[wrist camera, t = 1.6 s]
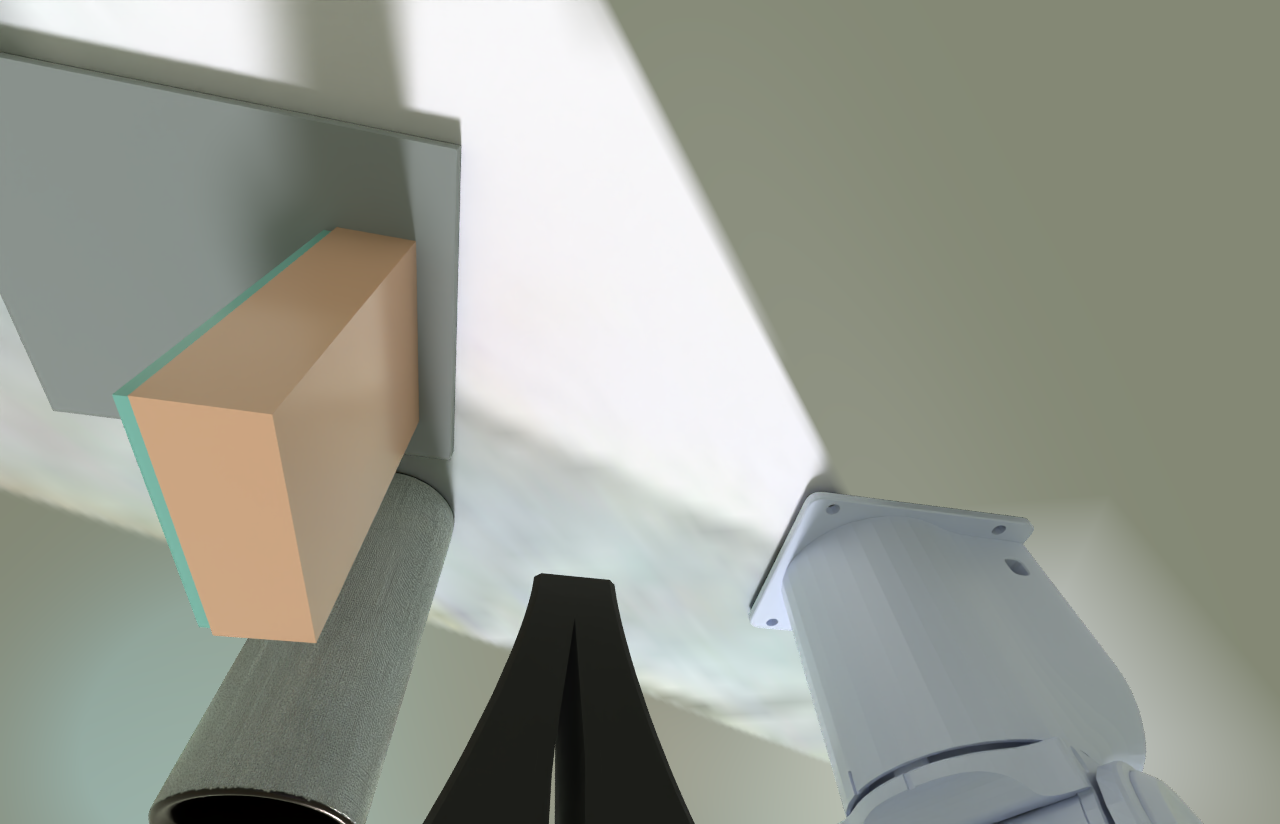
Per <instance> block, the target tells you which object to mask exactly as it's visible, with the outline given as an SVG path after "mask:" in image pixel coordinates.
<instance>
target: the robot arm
mask: <svg viewBox="0 0 1280 824" xmlns="http://www.w3.org/2000/svg"><path fill="white" fill-rule="evenodd" d="M834 504H835V505H834ZM830 505H834V506H831V507H828V506H830ZM1033 530H1034V527H1033V525H1032V524H1031V523H1030V522H1029V520H1028V519H1026V518H1023V517H1015V516H1008V515H1000V514H992V513H984V512H976V511H969V510H961V509H953V508H945V507H937V506H930V505H922V504H914V503H906V502H899V501H891V500H883V499H875V498H867V497H860V496H852V495H844V494H836V493H828V492H816V493H813V494H811V495H809V496H808V497H807V499H806V500H805V502H804V504H803V506H802V508H801V510H800V512H799V514H798V516H797V518H796V520H795V522H794V524H793V526H792V528H791V530H790V532H789V534H788V536H787V538H786V540H785V542H784V544H783V546H782V548H781V550H780V552H779V554H778V556H777V558H776V560H775V562H774V565H773V567H772V569H771V571H770V573H769V575H768V577H767V579H766V581H765V583H764V585H763V587H762V589H761V591H760V593H759V595H758V597H757V599H756V601H755V603H754V605H753V607H752V609H751V611H750V613H749V620H750V623H751V625H753V626H754V627H758V628H769V629H780V630H791V631H793V635H794V638H795V642H796V645H797V649H798V652H799V656H800V659H801V663H802V666H803V669H804V673H805V676H806V680H807V683H808V687H809V690H810V694H811V697H812V701H813V704H814V707H815V711H816V714H817V718H818V721H819V725H820V728H821V732H822V735H823V738H824V742H825V745H826V749H827V752H828V756H829V759H830V763H831V766H832V769H833V773H834V776H835V780H836V783H837V786H838V790H839V794H840V797H841V800H842V804H843V808H844V811H845V814H846V819H845V820H843V821H841V822H840V823H838V824H1204V823H1203V822H1202V821H1201V820H1200V819H1199V818H1198V816H1196V814H1195V813H1194V812H1193V811H1192V810H1191V809H1190V807H1189V806H1188V805H1187V804H1186V803H1185V802H1184V801H1183V800H1182V799H1181V798H1180V797H1179V796H1178V795H1177V794H1176V793H1175V792H1174V791H1173V790H1172V789H1171V788H1170V787H1169V786H1168V785H1167V784H1166V783H1164V782H1163V781H1162V780H1159V779H1158V778H1156V777H1153V776H1151V775H1148V774H1146V773H1143V772H1142V771H1143V767H1144V764H1145V757H1146V742H1145V733H1144V729H1143V723H1142V719H1141V716H1140V712H1139V709H1138V706H1137V703H1136V701H1135V698H1134V696H1133V693H1132V691H1131V689H1130V687H1129V685H1128V684H1127V682H1126V680H1125V678H1124V677H1123V675H1122V674H1121V672H1120V671H1119V669H1118V668H1117V666H1116V665H1115V664H1114V662H1113V661H1112V660H1111V658H1110V657H1109V656H1108V654H1107V653H1106V652H1105V650H1104V649H1103V648H1102V646H1101V645H1100V644H1099V643H1098V641H1097V640H1096V639H1095V637H1094V636H1093V635H1092V633H1091V632H1090V631H1089V630H1088V628H1087V627H1086V626H1085V624H1084V623H1083V622H1082V620H1081V619H1080V618H1079V616H1078V615H1077V614H1076V613H1075V611H1074V610H1073V609H1072V607H1071V606H1070V605H1069V603H1068V602H1067V601H1066V599H1065V598H1064V597H1063V596H1062V594H1061V593H1060V592H1059V590H1058V589H1057V588H1056V587H1055V585H1054V584H1053V582H1052V581H1051V580H1050V579H1049V577H1048V576H1047V575H1046V573H1045V572H1044V571H1043V569H1042V568H1041V567H1040V565H1039V564H1038V563H1037V562H1036V560H1035V559H1034V558H1033V556H1032V555H1031V554H1030V552H1029V551H1028V550H1027V548H1026V547H1025V546H1024V545H1023V543H1024V542H1025V541H1026V540H1027V538H1028V537H1029V536H1030V535H1031V534H1032V532H1033ZM554 749H555V824H695V823H694V821H693V819H692V817H691V815H690V813H689V810H688V808H687V806H686V804H685V802H684V799H683V797H682V795H681V792H680V790H679V788H678V786H677V783H676V781H675V779H674V776H673V774H672V771H671V769H670V766H669V764H668V761H667V759H666V756H665V754H664V751H663V749H662V746H661V744H660V741H659V739H658V736H657V733H656V731H655V728H654V725H653V723H652V720H651V718H650V714H649V712H648V709H647V706H646V703H645V700H644V697H643V694H642V691H641V688H640V685H639V682H638V679H637V676H636V673H635V669H634V666H633V663H632V660H631V656H630V653H629V649H628V645H627V642H626V638H625V634H624V630H623V626H622V622H621V618H620V613H619V609H618V604H617V599H616V593H615V586H614V584H613V583H612V582H611V581H610V580H604V579H594V578H584V577H574V576H564V575H554V574H544V573H541V574H539V575H537V576H535V577H534V581H533V587H532V592H531V596H530V599H529V603H528V607H527V610H526V613H525V616H524V619H523V622H522V625H521V628H520V630H519V633H518V636H517V638H516V641H515V643H514V646H513V649H512V651H511V653H510V656H509V658H508V660H507V663H506V665H505V667H504V669H503V672H502V674H501V676H500V678H499V681H498V683H497V685H496V688H495V690H494V692H493V694H492V696H491V698H490V700H489V702H488V704H487V706H486V708H485V710H484V712H483V714H482V716H481V718H480V720H479V722H478V724H477V726H476V728H475V730H474V732H473V734H472V736H471V738H470V740H469V742H468V744H467V746H466V748H465V750H464V752H463V754H462V756H461V757H460V759H459V761H458V763H457V765H456V766H455V768H454V770H453V772H452V774H451V775H450V777H449V779H448V781H447V783H446V784H445V786H444V788H443V790H442V791H441V793H440V795H439V797H438V798H437V800H436V802H435V804H434V805H433V807H432V809H431V811H430V812H429V814H428V816H427V817H426V819H425V821H424V823H423V824H549V811H550V810H549V809H550V794H551V778H552V766H553V758H554Z"/></svg>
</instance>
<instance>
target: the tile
mask: <svg viewBox="0 0 1280 824" xmlns="http://www.w3.org/2000/svg"><path fill="white" fill-rule="evenodd" d="M112 396H113V399H114V401H115V404H116V407H117V409H118V412H119V415H120V417H121V420H122V423H123V425H124V428H125V431H126V433H127V436H128V439H129V442H130V444H131V447H132V450H133V452H134V455H135V458H136V460H137V463H138V466H139V468H140V471H141V474H142V476H143V479H144V482H145V484H146V487H147V490H148V492H149V495H150V498H151V500H152V503H153V506H154V508H155V511H156V514H157V516H158V519H159V522H160V524H161V527H162V530H163V532H164V535H165V538H166V540H167V543H168V546H169V548H170V551H171V554H172V556H173V559H174V562H175V564H176V567H177V570H178V572H179V575H180V578H181V580H182V583H183V585H184V588H185V591H186V594H187V596H188V599H189V601H190V604H191V607H192V610H193V612H194V615H195V618H196V620H197V623H198V626H199V627H207V628H211V631H212V634H213V635H215V636H228V637H241V638H254V639H267V640H280V641H293V642H306V643H317V640H318V638H319V636H320V634H321V632H322V630H323V627H324V625H325V623H326V621H327V619H328V617H329V615H330V612H331V610H332V608H333V606H334V604H335V602H336V599H337V597H338V595H339V593H340V591H341V589H342V586H343V584H344V582H345V580H346V578H347V576H348V573H349V571H350V569H351V567H352V565H353V563H354V561H355V558H356V556H357V554H358V552H359V550H360V548H361V545H362V543H363V541H364V539H365V537H366V535H367V532H368V530H369V528H370V526H371V524H372V522H373V519H374V517H375V515H376V513H377V511H378V509H379V507H380V504H381V502H382V500H383V498H384V496H385V494H386V491H387V489H388V487H389V485H390V483H391V481H392V478H393V476H394V474H395V472H396V470H397V468H398V466H399V463H400V461H401V459H402V457H403V455H404V453H405V450H406V448H407V446H408V444H409V442H410V440H411V437H412V435H413V433H414V431H415V429H416V427H417V424H418V422H419V383H418V324H417V265H416V241H413V240H407V239H401V238H396V237H390V236H384V235H379V234H373V233H368V232H362V231H356V230H351V229H345V228H339V227H336V228H335V229H334V230H333V231H327V230H323V231H321V232H320V233H319V234H318V235H316V236H315V237H314V238H312V239H311V240H310V241H309V242H307V243H306V244H305V245H303V246H302V247H301V248H300V249H298V250H297V251H296V252H294V253H293V254H292V255H291V256H289V257H288V258H287V259H285V260H284V261H283V262H282V263H280V264H279V265H278V266H276V267H275V268H274V269H273V270H271V271H270V272H269V273H267V274H266V275H265V276H264V277H262V278H261V279H260V280H259V281H257V282H256V283H255V284H253V285H252V286H251V287H250V288H248V289H247V290H246V291H244V292H243V293H242V294H241V295H239V296H238V297H237V298H235V299H234V300H233V301H232V302H230V303H229V304H228V305H226V306H225V307H224V308H223V309H221V310H220V311H219V312H217V313H216V314H215V315H214V316H212V317H211V318H210V319H208V320H207V321H206V322H205V323H203V324H202V325H201V326H199V327H198V328H197V329H196V330H194V331H193V332H192V333H190V334H189V335H188V336H187V337H185V338H184V339H183V340H181V341H180V342H179V343H178V344H176V345H175V346H174V347H172V348H171V349H170V350H169V351H167V352H166V353H165V354H163V355H162V356H161V357H160V358H158V359H157V360H156V361H154V362H153V363H152V364H151V365H149V366H148V367H147V368H145V369H144V370H143V371H142V372H140V373H139V374H138V375H136V376H135V377H134V378H133V379H131V380H130V381H129V382H127V383H126V384H125V385H124V386H122V387H121V388H120V389H118V390H117V391H116V392H115V393H113V394H112Z"/></svg>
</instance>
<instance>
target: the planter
mask: <svg viewBox="0 0 1280 824" xmlns="http://www.w3.org/2000/svg"><path fill="white" fill-rule="evenodd" d="M453 527H454V518H453V514H452V511H451V509H450V507H449V505H448V503H447V502H446V501H445V499H444V498H443V497H442V496H441V495H440V494H439V493H438V492H437V491H436V490H434V489H433V488H432V487H430V486H429V485H428V484H426V483H424V482H422V481H420V480H418V479H416V478H413V477H410V476H407V475H404V474H400V473H395V474H394V476H393V478H392V481H391V483H390V485H389V487H388V489H387V491H386V494H385V496H384V498H383V500H382V502H381V504H380V507H379V509H378V511H377V513H376V515H375V517H374V519H373V522H372V524H371V526H370V528H369V530H368V532H367V535H366V537H365V539H364V541H363V543H362V545H361V548H360V550H359V552H358V554H357V556H356V558H355V561H354V563H353V565H352V567H351V569H350V571H349V573H348V576H347V578H346V580H345V582H344V584H343V586H342V589H341V591H340V593H339V595H338V597H337V599H336V602H335V604H334V606H333V608H332V610H331V612H330V615H329V617H328V619H327V621H326V623H325V625H324V627H323V630H322V632H321V634H320V636H319V638H318V640H317V643H306V642H293V641H280V640H267V639H254V638H248V639H247V641H246V643H245V644H244V646H243V648H242V649H241V651H240V653H239V655H238V656H237V658H236V660H235V662H234V663H233V665H232V667H231V669H230V671H229V672H228V674H227V676H226V677H225V679H224V681H223V682H222V684H221V686H220V688H219V689H218V691H217V693H216V695H215V697H214V698H213V700H212V702H211V703H210V705H209V707H208V709H207V710H206V712H205V714H204V715H203V717H202V719H201V721H200V722H199V724H198V726H197V728H196V730H195V731H194V733H193V735H192V736H191V738H190V740H189V742H188V743H187V745H186V747H185V749H184V750H183V752H182V754H181V755H180V757H179V759H178V761H177V762H176V764H175V766H174V768H173V769H172V771H171V773H170V775H169V777H168V778H167V780H166V782H165V783H164V785H163V787H162V789H161V790H160V792H159V794H158V796H157V798H156V799H155V801H154V803H153V805H152V807H151V809H150V811H149V824H365V823H366V820H367V816H368V813H369V810H370V807H371V803H372V800H373V797H374V793H375V790H376V787H377V783H378V780H379V777H380V773H381V770H382V767H383V763H384V760H385V757H386V753H387V750H388V746H389V743H390V740H391V737H392V733H393V730H394V727H395V724H396V720H397V717H398V714H399V710H400V707H401V704H402V700H403V697H404V694H405V690H406V687H407V684H408V680H409V677H410V674H411V670H412V667H413V664H414V660H415V657H416V654H417V650H418V647H419V644H420V640H421V637H422V634H423V630H424V627H425V624H426V621H427V617H428V614H429V611H430V607H431V604H432V601H433V597H434V594H435V591H436V587H437V584H438V581H439V577H440V574H441V571H442V567H443V564H444V561H445V557H446V554H447V551H448V547H449V544H450V541H451V536H452V532H453Z"/></svg>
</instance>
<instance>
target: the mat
mask: <svg viewBox="0 0 1280 824" xmlns="http://www.w3.org/2000/svg"><path fill="white" fill-rule="evenodd" d="M460 168H461V145H457V144H452V143H447V142H442V141H437V140H432V139H427V138H422V137H417V136H412V135H407V134H402V133H397V132H392V131H387V130H382V129H378V128H373V127H368V126H363V125H358V124H353V123H348V122H343V121H338V120H333V119H328V118H323V117H318V116H313V115H308V114H303V113H299V112H294V111H289V110H284V109H279V108H274V107H269V106H264V105H259V104H254V103H249V102H244V101H239V100H234V99H229V98H224V97H220V96H215V95H210V94H205V93H200V92H195V91H190V90H185V89H180V88H175V87H170V86H165V85H160V84H155V83H150V82H145V81H141V80H136V79H131V78H126V77H121V76H116V75H111V74H106V73H101V72H96V71H91V70H86V69H81V68H76V67H71V66H66V65H62V64H57V63H52V62H47V61H42V60H37V59H32V58H27V57H22V56H17V55H12V54H7V53H2V52H0V294H1V296H2V299H3V301H4V303H5V305H6V307H7V310H8V312H9V314H10V316H11V319H12V321H13V323H14V325H15V327H16V330H17V332H18V334H19V336H20V338H21V341H22V343H23V345H24V347H25V350H26V352H27V354H28V356H29V358H30V361H31V363H32V365H33V367H34V369H35V372H36V374H37V376H38V378H39V381H40V383H41V385H42V387H43V389H44V392H45V394H46V396H47V398H48V400H49V403H50V405H51V407H52V409H53V411H59V412H68V413H76V414H84V415H92V416H100V417H108V418H116V419H121V417H120V415H119V412H118V409H117V407H116V404H115V401H114V399H113V396H112V394H113V393H115V392H116V391H117V390H118V389H120V388H121V387H122V386H124V385H125V384H126V383H127V382H129V381H130V380H131V379H133V378H134V377H135V376H136V375H138V374H139V373H140V372H142V371H143V370H144V369H145V368H147V367H148V366H149V365H151V364H152V363H153V362H154V361H156V360H157V359H158V358H160V357H161V356H162V355H163V354H165V353H166V352H167V351H169V350H170V349H171V348H172V347H174V346H175V345H176V344H178V343H179V342H180V341H181V340H183V339H184V338H185V337H187V336H188V335H189V334H190V333H192V332H193V331H194V330H196V329H197V328H198V327H199V326H201V325H202V324H203V323H205V322H206V321H207V320H208V319H210V318H211V317H212V316H214V315H215V314H216V313H217V312H219V311H220V310H221V309H223V308H224V307H225V306H226V305H228V304H229V303H230V302H232V301H233V300H234V299H235V298H237V297H238V296H239V295H241V294H242V293H243V292H244V291H246V290H247V289H248V288H250V287H251V286H252V285H253V284H255V283H256V282H257V281H259V280H260V279H261V278H262V277H264V276H265V275H266V274H267V273H269V272H270V271H271V270H273V269H274V268H275V267H276V266H278V265H279V264H280V263H282V262H283V261H284V260H285V259H287V258H288V257H289V256H291V255H292V254H293V253H294V252H296V251H297V250H298V249H300V248H301V247H302V246H303V245H305V244H306V243H307V242H309V241H310V240H311V239H312V238H314V237H315V236H316V235H318V234H319V233H320V232H321V231H323V230H327V231H333V230H334V229H335V228H336V227H339V228H345V229H351V230H356V231H362V232H368V233H373V234H379V235H384V236H390V237H396V238H401V239H407V240H413V241H416V265H417V324H418V383H419V422H418V424H417V427H416V429H415V431H414V433H413V435H412V437H411V440H410V442H409V444H408V446H407V448H406V450H405V453H404V454H405V455H413V456H421V457H429V458H437V459H445V460H450V459H451V456H452V453H453V446H454V406H455V366H456V327H457V287H458V247H459V207H460Z"/></svg>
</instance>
